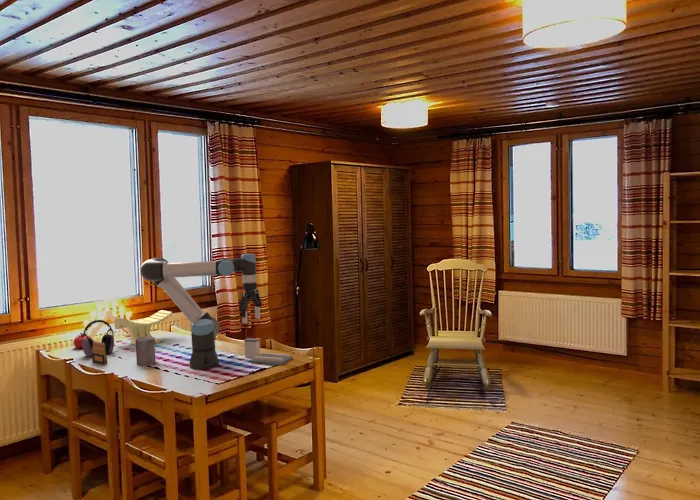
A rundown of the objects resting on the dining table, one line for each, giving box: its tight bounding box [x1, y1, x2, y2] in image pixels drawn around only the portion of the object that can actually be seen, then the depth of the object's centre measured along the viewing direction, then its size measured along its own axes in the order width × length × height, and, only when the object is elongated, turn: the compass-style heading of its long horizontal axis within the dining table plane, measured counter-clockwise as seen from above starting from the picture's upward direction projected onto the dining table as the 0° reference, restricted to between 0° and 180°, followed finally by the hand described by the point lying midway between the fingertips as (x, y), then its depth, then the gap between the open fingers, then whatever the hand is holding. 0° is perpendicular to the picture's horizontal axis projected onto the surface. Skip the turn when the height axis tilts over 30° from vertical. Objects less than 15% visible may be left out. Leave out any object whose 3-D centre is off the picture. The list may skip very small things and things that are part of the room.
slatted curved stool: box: [114, 309, 173, 346], centre depth 362 cm, size 30×16×18 cm, turn 137°
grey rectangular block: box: [244, 337, 261, 359], centre depth 318 cm, size 4×7×10 cm, turn 70°
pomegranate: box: [72, 332, 92, 350], centre depth 353 cm, size 10×10×9 cm
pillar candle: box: [135, 335, 157, 366], centre depth 311 cm, size 10×10×15 cm
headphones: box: [82, 319, 115, 358], centre depth 334 cm, size 9×17×20 cm, turn 136°
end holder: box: [250, 352, 294, 366], centre depth 310 cm, size 14×18×3 cm
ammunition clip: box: [91, 340, 108, 365], centre depth 315 cm, size 11×2×12 cm, turn 57°
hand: (251, 320), depth 317 cm, fingers open, 13 cm apart
